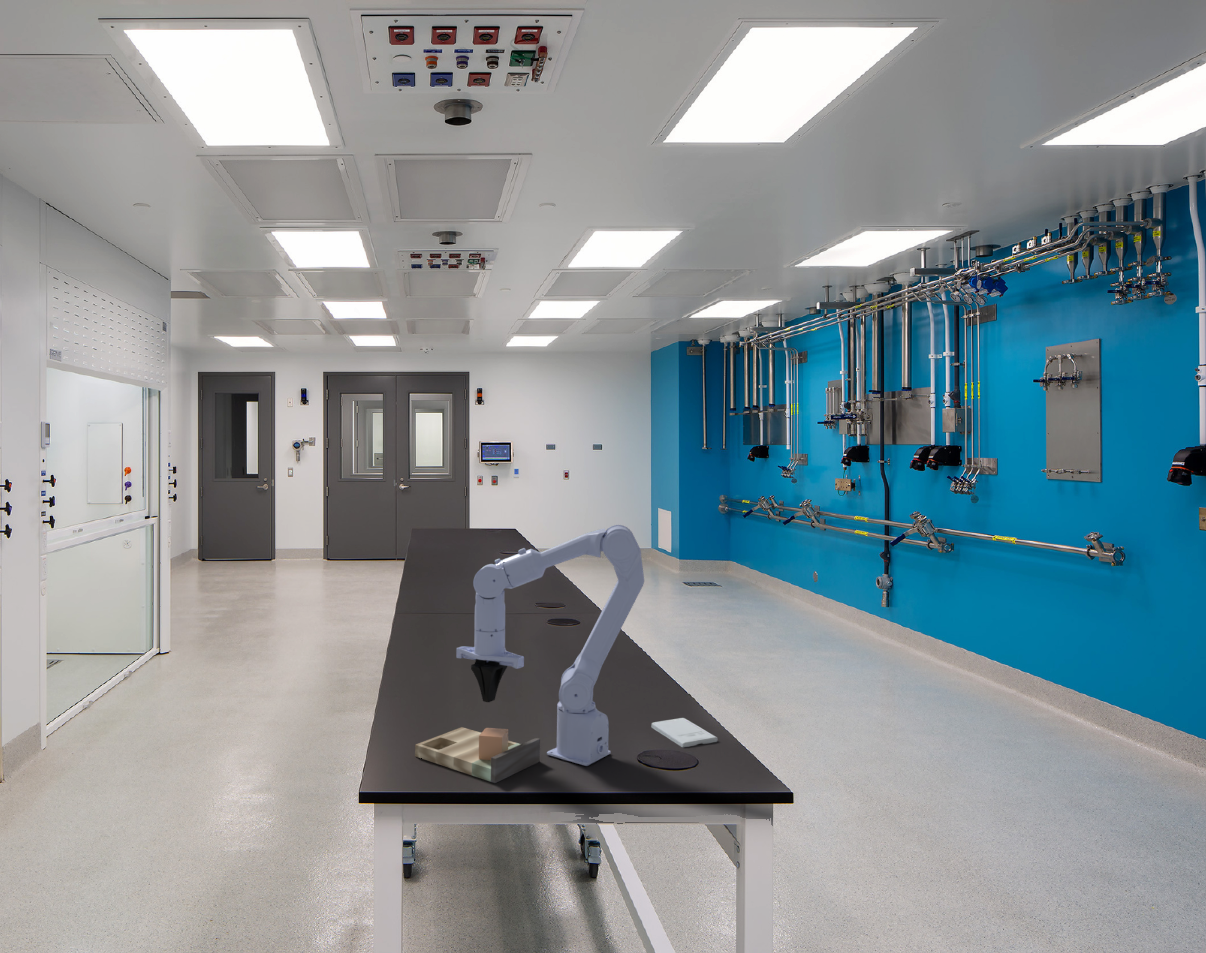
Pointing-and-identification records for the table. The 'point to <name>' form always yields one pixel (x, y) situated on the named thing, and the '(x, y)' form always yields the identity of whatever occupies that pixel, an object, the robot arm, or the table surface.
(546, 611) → the table surface
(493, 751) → the block
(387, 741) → the table surface
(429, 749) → the trap board
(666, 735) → the external hard drive
